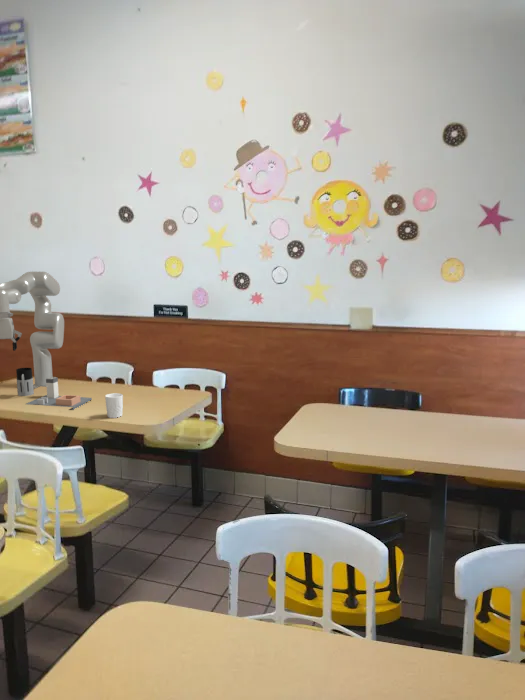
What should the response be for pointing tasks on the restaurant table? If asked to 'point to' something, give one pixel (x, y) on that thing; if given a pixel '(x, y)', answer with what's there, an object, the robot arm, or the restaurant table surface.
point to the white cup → (114, 405)
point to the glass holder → (24, 382)
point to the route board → (61, 401)
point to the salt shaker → (52, 387)
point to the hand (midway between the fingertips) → (3, 350)
